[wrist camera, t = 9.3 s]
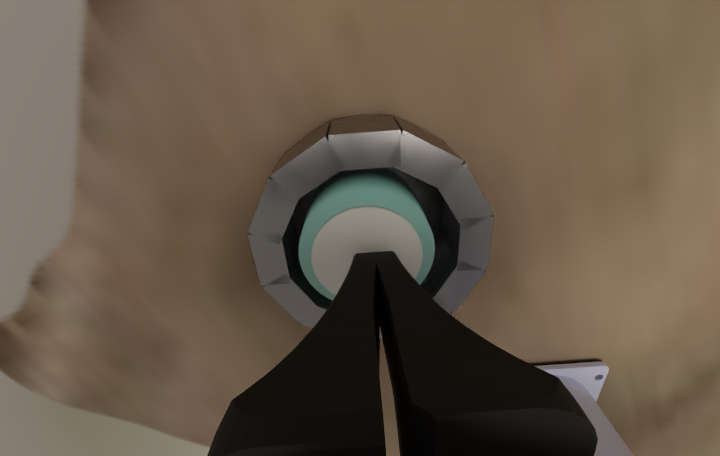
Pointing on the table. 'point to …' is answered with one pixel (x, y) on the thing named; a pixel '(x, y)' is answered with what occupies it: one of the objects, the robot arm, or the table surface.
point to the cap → (363, 227)
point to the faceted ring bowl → (366, 151)
